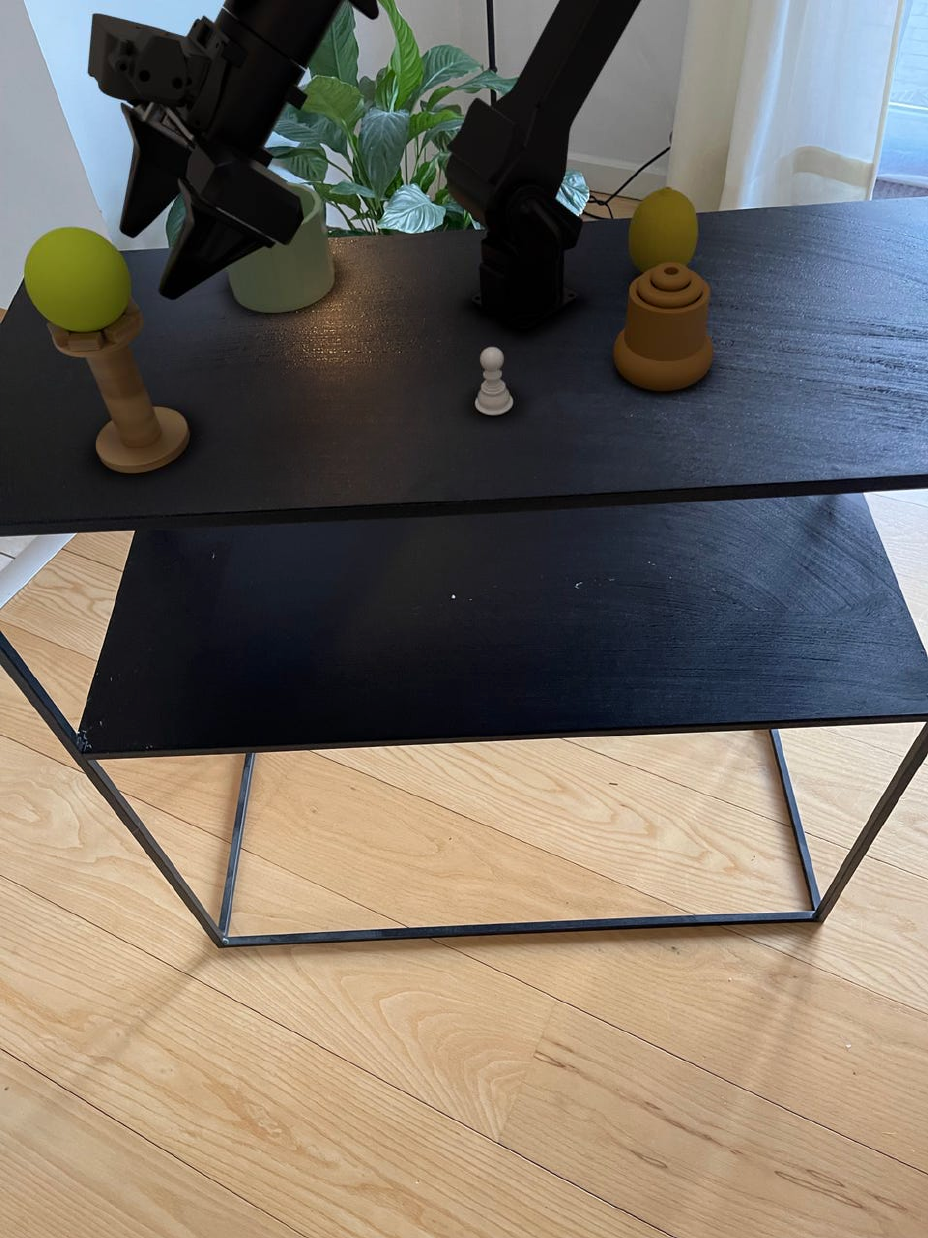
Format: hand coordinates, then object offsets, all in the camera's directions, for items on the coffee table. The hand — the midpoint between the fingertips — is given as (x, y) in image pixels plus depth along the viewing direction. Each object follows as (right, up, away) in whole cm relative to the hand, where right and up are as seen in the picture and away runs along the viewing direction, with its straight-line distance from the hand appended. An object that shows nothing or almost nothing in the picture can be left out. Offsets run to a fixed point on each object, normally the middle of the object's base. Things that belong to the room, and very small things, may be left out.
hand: (144, 264), depth 64 cm
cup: (+5, +6, +22) cm, 23 cm away
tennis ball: (-4, -2, -1) cm, 4 cm away
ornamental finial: (+36, -4, +11) cm, 38 cm away
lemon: (+37, +5, +18) cm, 42 cm away
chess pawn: (+23, -7, +9) cm, 26 cm away
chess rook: (-3, -10, +9) cm, 14 cm away
